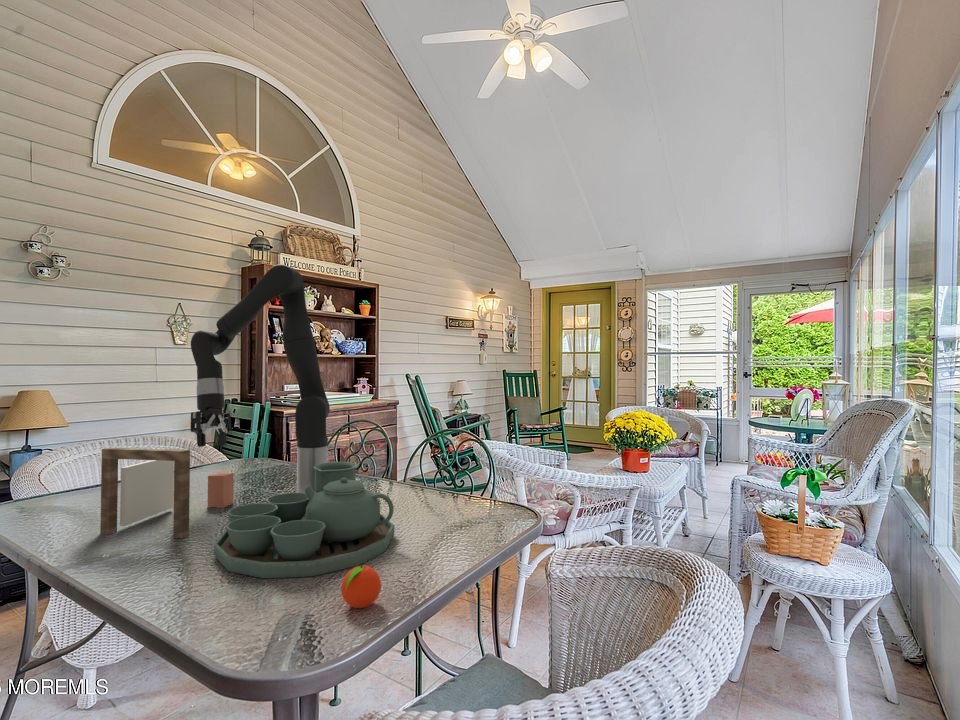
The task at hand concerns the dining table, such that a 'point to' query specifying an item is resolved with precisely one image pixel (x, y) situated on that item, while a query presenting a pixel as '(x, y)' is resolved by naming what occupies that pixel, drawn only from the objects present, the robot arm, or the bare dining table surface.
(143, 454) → the door frame
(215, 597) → the dining table surface
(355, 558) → the tea set
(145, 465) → the door
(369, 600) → the clementine
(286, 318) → the robot arm
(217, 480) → the salmon orange block
